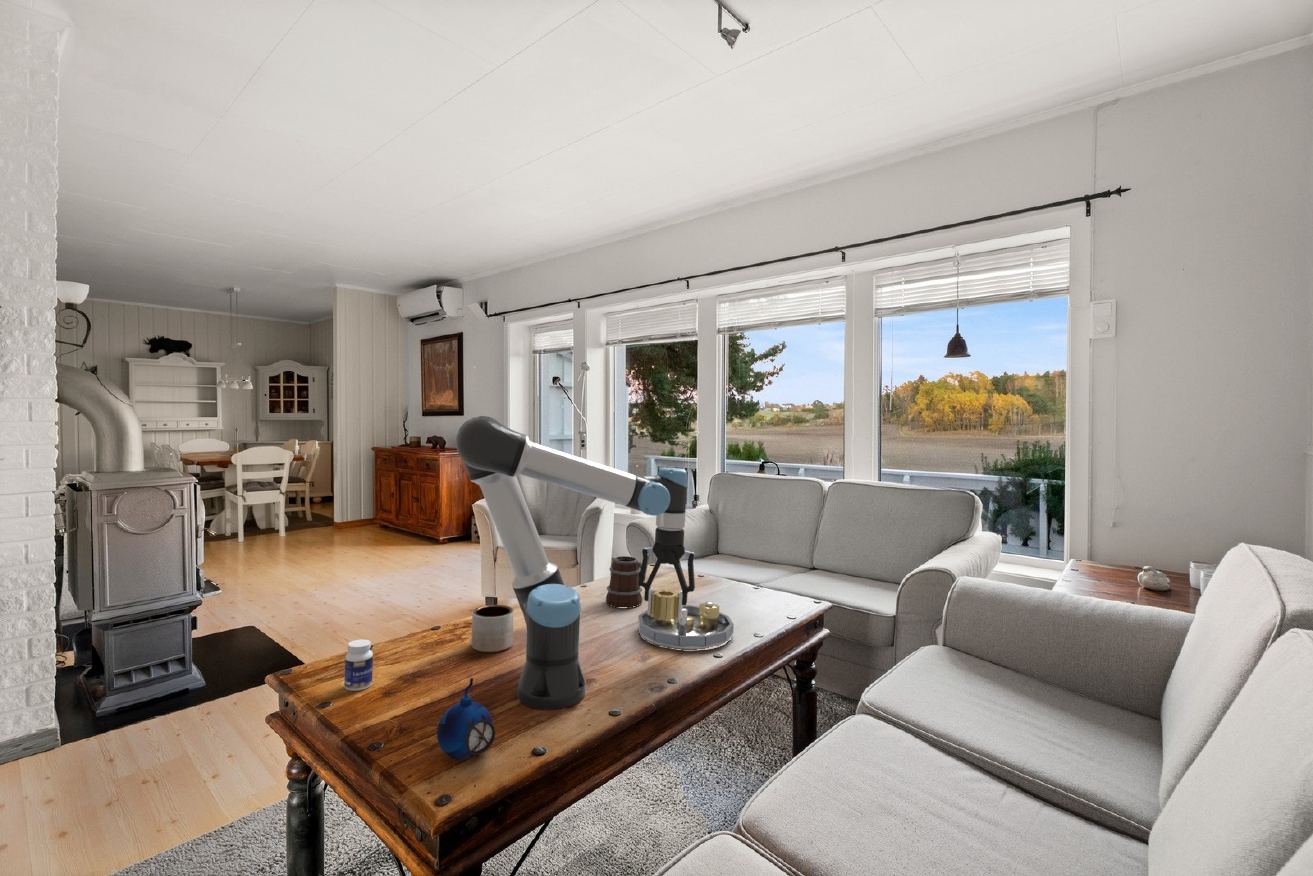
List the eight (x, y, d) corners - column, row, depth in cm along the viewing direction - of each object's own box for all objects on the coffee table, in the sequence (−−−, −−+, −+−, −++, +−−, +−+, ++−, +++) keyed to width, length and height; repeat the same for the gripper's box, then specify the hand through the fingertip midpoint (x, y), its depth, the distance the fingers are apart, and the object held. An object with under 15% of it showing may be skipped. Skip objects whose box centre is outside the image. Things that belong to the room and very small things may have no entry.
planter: (521, 646, 166) (522, 611, 166) (485, 657, 158) (486, 620, 158) (498, 635, 174) (499, 601, 173) (463, 645, 166) (464, 610, 165)
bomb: (457, 781, 106) (459, 695, 105) (426, 755, 113) (427, 675, 113) (506, 758, 113) (508, 678, 113) (473, 736, 121) (475, 660, 120)
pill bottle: (353, 694, 136) (354, 649, 135) (339, 687, 139) (339, 643, 138) (377, 685, 141) (378, 642, 140) (362, 678, 144) (363, 636, 143)
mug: (627, 611, 199) (628, 565, 198) (598, 603, 206) (600, 558, 205) (655, 600, 212) (657, 556, 211) (628, 593, 219) (629, 551, 218)
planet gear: (661, 622, 156) (663, 599, 156) (645, 614, 162) (646, 591, 161) (684, 618, 160) (685, 595, 160) (667, 610, 166) (668, 588, 166)
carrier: (676, 658, 162) (677, 623, 161) (621, 627, 184) (622, 595, 183) (751, 639, 177) (752, 607, 177) (692, 612, 199) (693, 583, 199)
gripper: (710, 528, 162) (704, 615, 163) (634, 522, 165) (629, 606, 166) (707, 533, 155) (702, 624, 155) (629, 526, 158) (623, 615, 159)
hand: (664, 615), depth 161 cm, fingers closed on planet gear, 7 cm apart
